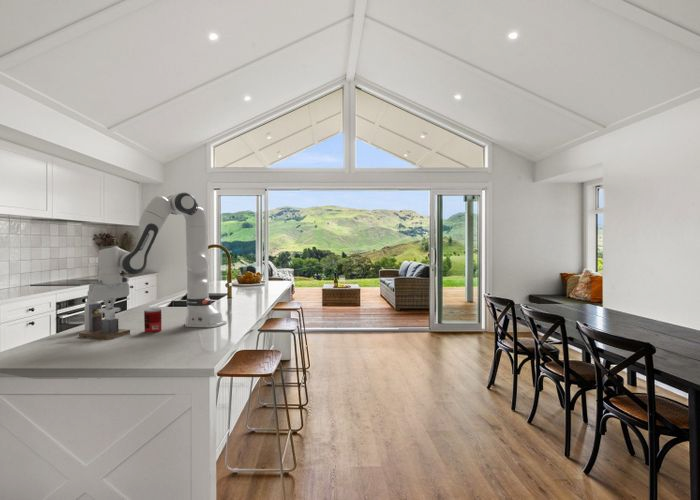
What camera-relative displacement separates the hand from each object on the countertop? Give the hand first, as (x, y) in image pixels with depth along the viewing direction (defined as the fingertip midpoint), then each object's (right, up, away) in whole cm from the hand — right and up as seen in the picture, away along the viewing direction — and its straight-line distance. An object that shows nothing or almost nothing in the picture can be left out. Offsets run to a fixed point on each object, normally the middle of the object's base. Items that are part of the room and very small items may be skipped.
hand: (109, 308), depth 205 cm
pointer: (-7, -2, +3) cm, 7 cm away
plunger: (-2, -8, +1) cm, 8 cm away
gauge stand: (-3, -13, +2) cm, 14 cm away
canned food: (+16, -13, +11) cm, 23 cm away
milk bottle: (-16, -13, +14) cm, 25 cm away
